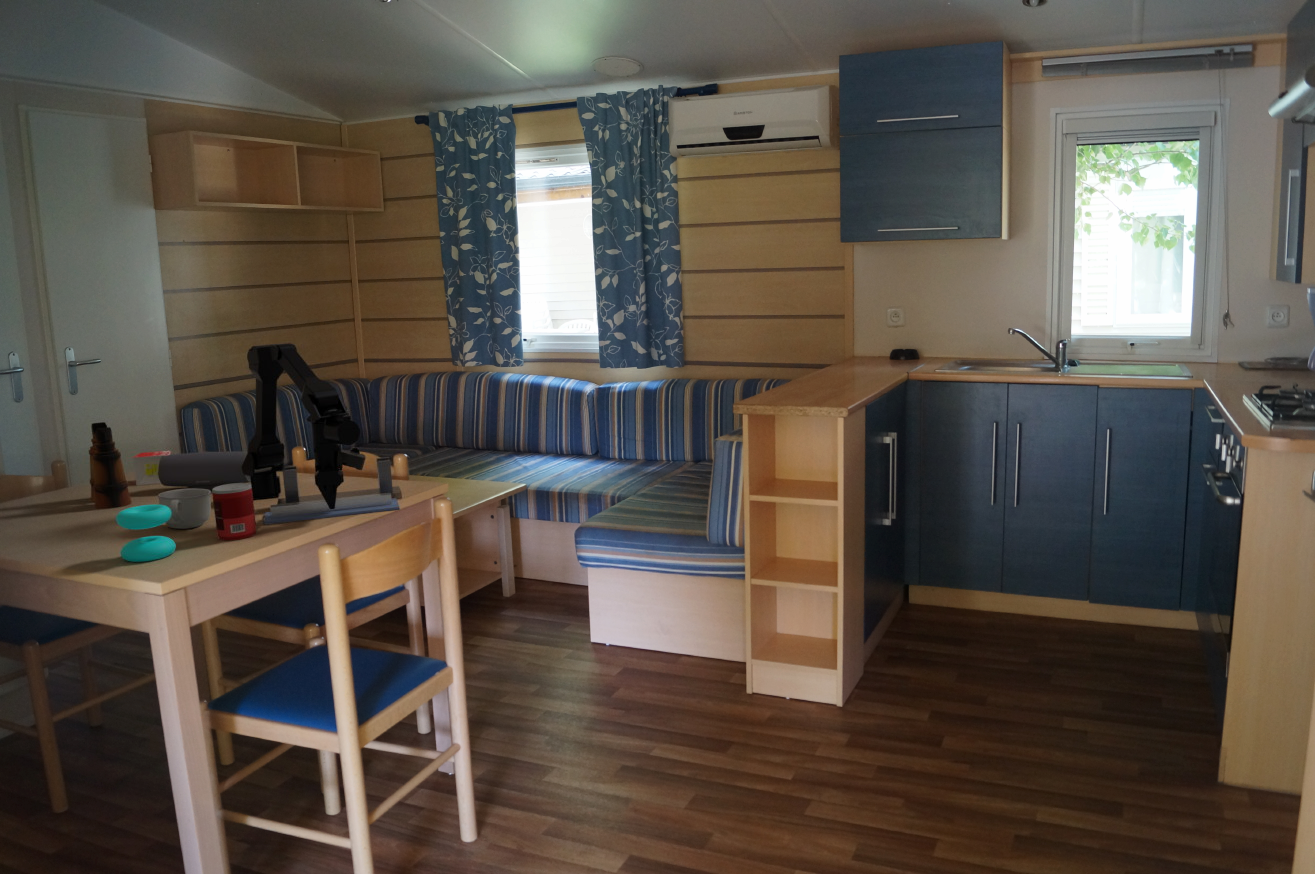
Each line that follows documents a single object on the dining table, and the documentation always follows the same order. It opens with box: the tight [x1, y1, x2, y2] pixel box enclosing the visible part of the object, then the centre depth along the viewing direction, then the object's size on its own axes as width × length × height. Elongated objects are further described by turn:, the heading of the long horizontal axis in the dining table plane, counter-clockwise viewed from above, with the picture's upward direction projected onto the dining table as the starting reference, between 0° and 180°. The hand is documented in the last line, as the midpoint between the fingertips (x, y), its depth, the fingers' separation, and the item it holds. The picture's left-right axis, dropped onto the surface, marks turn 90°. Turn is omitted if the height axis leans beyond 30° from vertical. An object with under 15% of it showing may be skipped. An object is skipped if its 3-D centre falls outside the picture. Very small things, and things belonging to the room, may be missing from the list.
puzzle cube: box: [132, 450, 172, 486], centre depth 277 cm, size 8×8×8 cm
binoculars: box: [88, 421, 132, 510], centre depth 251 cm, size 18×8×20 cm, turn 35°
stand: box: [276, 456, 403, 505], centre depth 242 cm, size 29×8×10 cm, turn 109°
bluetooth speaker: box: [158, 450, 251, 490], centre depth 264 cm, size 23×9×10 cm, turn 92°
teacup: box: [157, 488, 212, 530], centre depth 222 cm, size 14×11×8 cm
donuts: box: [115, 503, 177, 563], centre depth 199 cm, size 10×10×10 cm
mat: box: [263, 498, 401, 525], centre depth 232 cm, size 30×10×1 cm, turn 109°
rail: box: [269, 493, 392, 518], centre depth 231 cm, size 27×2×2 cm, turn 109°
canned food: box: [211, 482, 257, 542], centre depth 212 cm, size 8×8×11 cm
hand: (332, 506), depth 232 cm, fingers open, 5 cm apart
